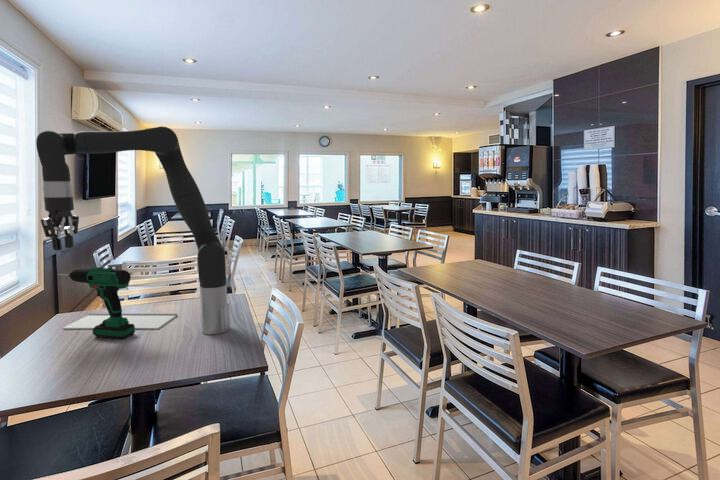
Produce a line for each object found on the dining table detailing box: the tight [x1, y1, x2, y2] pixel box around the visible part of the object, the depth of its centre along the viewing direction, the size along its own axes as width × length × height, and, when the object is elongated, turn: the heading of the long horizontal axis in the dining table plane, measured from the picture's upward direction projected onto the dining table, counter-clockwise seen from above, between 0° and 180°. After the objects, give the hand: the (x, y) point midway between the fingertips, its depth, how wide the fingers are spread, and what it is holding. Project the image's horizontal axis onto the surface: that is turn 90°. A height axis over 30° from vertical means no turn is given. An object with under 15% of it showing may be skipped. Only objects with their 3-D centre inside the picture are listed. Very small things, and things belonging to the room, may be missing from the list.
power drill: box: [57, 266, 136, 340], centre depth 148 cm, size 6×29×25 cm, turn 78°
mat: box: [62, 313, 178, 330], centre depth 163 cm, size 36×16×1 cm, turn 89°
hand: (63, 248), depth 133 cm, fingers open, 4 cm apart
